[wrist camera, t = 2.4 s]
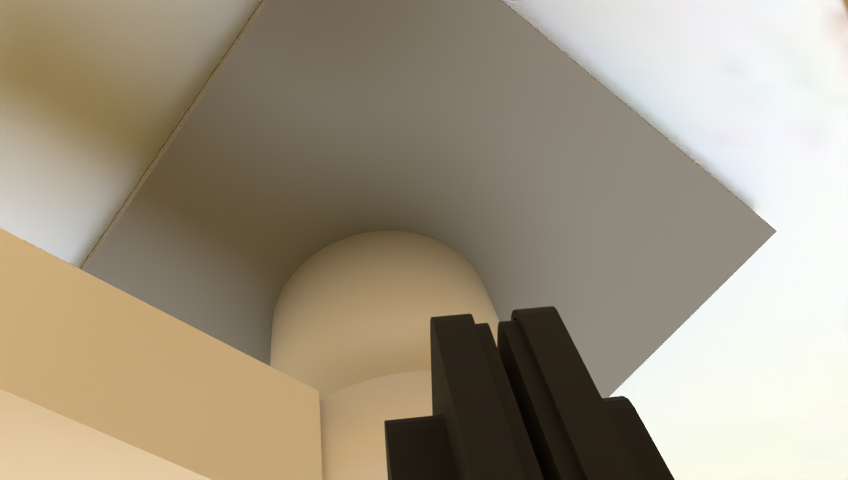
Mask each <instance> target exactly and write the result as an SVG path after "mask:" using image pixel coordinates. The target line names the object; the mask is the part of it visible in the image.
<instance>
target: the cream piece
mask: <svg viewBox="0 0 848 480" xmlns="http://www.w3.org/2000/svg"><path fill="white" fill-rule="evenodd" d="M424 416H432V380H431V370H427V371H413V372H405V373H397V374H391V375H387V376H382V377H378V378H374V379H370V380H366V381H363V382H360V383H357V384H354V385H352V386H349V387H346V388H343V389H341V390H338V391H336V392H334V393H332V394H330V395H328V396H326V397H324V398H322V399H319V391H317V390H315V389H314V388H312V387H310V386H308V385H306V384H304V383H302V382H300V381H298V380H296V379H294V378H292V377H290V376H288V375H286V374H284V373H282V372H280V371H278V370H276V369H274V368H272V367H270V366H269V365H267V364H265V363H263V362H261V361H259V360H257V359H255V358H253V357H251V356H249V355H247V354H245V353H243V352H241V351H239V350H237V349H235V348H233V347H231V346H229V345H227V344H225V343H224V342H222V341H220V340H218V339H216V338H214V337H212V336H210V335H208V334H206V333H204V332H202V331H200V330H198V329H196V328H194V327H192V326H190V325H188V324H186V323H184V322H182V321H181V320H179V319H177V318H175V317H173V316H171V315H169V314H167V313H165V312H163V311H161V310H159V309H157V308H155V307H153V306H151V305H149V304H147V303H145V302H143V301H141V300H139V299H137V298H136V297H134V296H132V295H130V294H128V293H126V292H124V291H122V290H120V289H118V288H116V287H114V286H112V285H110V284H108V283H106V282H104V281H102V280H100V279H98V278H96V277H94V276H92V275H91V274H89V273H87V272H85V271H83V270H81V269H79V268H77V267H75V266H73V265H71V264H69V263H67V262H65V261H63V260H61V259H59V258H57V257H55V256H53V255H51V254H49V253H47V252H46V251H44V250H42V249H40V248H38V247H36V246H34V245H32V244H30V243H28V242H26V241H24V240H22V239H20V238H18V237H16V236H14V235H12V234H10V233H8V232H6V231H4V230H2V229H1V228H0V480H388V475H387V460H386V445H385V428H384V421H385V420H394V419H404V418H414V417H424Z"/></svg>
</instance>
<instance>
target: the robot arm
mask: <svg viewBox="0 0 848 480" xmlns="http://www.w3.org/2000/svg"><path fill="white" fill-rule="evenodd" d="M430 345H431V380H432V416H424V417H414V418H404V419H394V420H385V421H384V428H385V445H386V460H387V475H388V480H674V478H673V476H672V474H671V473H670V471H669V469H668V467H667V465H666V464H665V462H664V460H663V458H662V456H661V455H660V453H659V451H658V449H657V447H656V446H655V444H654V442H653V440H652V438H651V437H650V435H649V433H648V431H647V429H646V428H645V426H644V424H643V422H642V420H641V419H640V417H639V415H638V413H637V411H636V410H635V408H634V406H633V405H632V404H631V402H630V401H629V399H627V398H625V397H624V396H619V397H610V398H602V397H601V395H600V394H599V392H598V390H597V388H596V386H595V384H594V382H593V380H592V378H591V376H590V374H589V372H588V370H587V368H586V366H585V364H584V362H583V360H582V358H581V356H580V354H579V352H578V350H577V348H576V346H575V344H574V342H573V340H572V338H571V336H570V334H569V332H568V331H567V329H566V327H565V325H564V323H563V321H562V319H561V317H560V315H559V313H558V311H557V309H556V308H555V307H553V306H548V307H536V308H525V309H514V310H513V311H512V315H511V321H500V322H499V323H498V331H497V346H496V343H495V340H494V337H493V334H492V332H491V329H490V326H489V324H488V323H478V324H475V321H474V318H473V316H472V314H459V315H448V316H437V317H431V319H430Z"/></svg>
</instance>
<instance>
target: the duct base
mask: <svg viewBox="0 0 848 480" xmlns="http://www.w3.org/2000/svg"><path fill="white" fill-rule="evenodd" d="M775 232H776V230H775V229H774V228H772V227H771V226H770V225H769V224H768V223H766V222H765V221H764V220H763V219H762V218H761V217H759V216H758V215H757V214H756V213H755V212H754V211H752V210H751V209H750V208H749V207H748V206H746V205H745V204H744V203H743V202H742V201H740V200H739V199H738V198H737V197H736V196H734V195H733V194H732V193H731V192H730V191H728V190H727V189H726V188H725V187H724V186H723V185H721V184H720V183H719V182H718V181H717V180H715V179H714V178H713V177H712V176H711V175H709V174H708V173H707V172H706V171H705V170H703V169H702V168H701V167H700V166H699V165H697V164H696V163H695V162H694V161H693V160H691V159H690V158H689V157H688V156H687V155H686V154H684V153H683V152H682V151H681V150H680V149H678V148H677V147H676V146H675V145H674V144H672V143H671V142H670V141H669V140H668V139H666V138H665V137H664V136H663V135H662V134H660V133H659V132H658V131H657V130H656V129H655V128H653V127H652V126H651V125H650V124H649V123H647V122H646V121H645V120H644V119H643V118H641V117H640V116H639V115H638V114H637V113H635V112H634V111H633V110H632V109H631V108H629V107H628V106H627V105H626V104H625V103H623V102H622V101H621V100H620V99H619V98H618V97H616V96H615V95H614V94H613V93H612V92H610V91H609V90H608V89H607V88H606V87H604V86H603V85H602V84H601V83H600V82H598V81H597V80H596V79H595V78H594V77H592V76H591V75H590V74H589V73H588V72H587V71H585V70H584V69H583V68H582V67H581V66H579V65H578V64H577V63H576V62H575V61H573V60H572V59H571V58H570V57H569V56H567V55H566V54H565V53H564V52H563V51H561V50H560V49H559V48H558V47H557V46H555V45H554V44H553V43H552V42H551V41H550V40H548V39H547V38H546V37H545V36H544V35H542V34H541V33H540V32H539V31H538V30H536V29H535V28H534V27H533V26H532V25H530V24H529V23H528V22H527V21H526V20H524V19H523V18H522V17H521V16H520V15H518V14H517V13H516V12H515V11H514V10H513V9H511V8H510V7H509V6H508V5H507V4H505V3H504V2H503V1H502V0H262V2H261V3H260V5H259V6H258V7H257V9H256V10H255V12H254V13H253V15H252V16H251V18H250V19H249V21H248V22H247V24H246V25H245V27H244V28H243V30H242V31H241V33H240V34H239V35H238V37H237V38H236V40H235V41H234V43H233V44H232V46H231V47H230V49H229V50H228V52H227V53H226V55H225V56H224V58H223V59H222V60H221V62H220V63H219V65H218V66H217V68H216V69H215V71H214V72H213V74H212V75H211V77H210V78H209V80H208V81H207V83H206V84H205V86H204V87H203V88H202V90H201V91H200V93H199V94H198V96H197V97H196V99H195V100H194V102H193V103H192V105H191V106H190V108H189V109H188V111H187V112H186V114H185V115H184V116H183V118H182V119H181V121H180V122H179V124H178V125H177V127H176V128H175V130H174V131H173V133H172V134H171V136H170V137H169V139H168V140H167V142H166V143H165V144H164V146H163V147H162V149H161V150H160V152H159V153H158V155H157V156H156V158H155V159H154V161H153V162H152V164H151V165H150V167H149V168H148V169H147V171H146V172H145V174H144V175H143V177H142V178H141V180H140V181H139V183H138V184H137V186H136V187H135V189H134V190H133V192H132V193H131V195H130V196H129V197H128V199H127V200H126V202H125V203H124V205H123V206H122V208H121V209H120V211H119V212H118V214H117V215H116V217H115V218H114V220H113V221H112V223H111V224H110V225H109V227H108V228H107V230H106V231H105V233H104V234H103V236H102V237H101V239H100V240H99V242H98V243H97V245H96V246H95V248H94V249H93V251H92V252H91V253H90V255H89V256H88V258H87V259H86V261H85V262H84V264H83V265H82V267H81V268H80V269H81V270H83V271H85V272H87V273H89V274H91V275H92V276H94V277H96V278H98V279H100V280H102V281H104V282H106V283H108V284H110V285H112V286H114V287H116V288H118V289H120V290H122V291H124V292H126V293H128V294H130V295H132V296H134V297H136V298H137V299H139V300H141V301H143V302H145V303H147V304H149V305H151V306H153V307H155V308H157V309H159V310H161V311H163V312H165V313H167V314H169V315H171V316H173V317H175V318H177V319H179V320H181V321H182V322H184V323H186V324H188V325H190V326H192V327H194V328H196V329H198V330H200V331H202V332H204V333H206V334H208V335H210V336H212V337H214V338H216V339H218V340H220V341H222V342H224V343H225V344H227V345H229V346H231V347H233V348H235V349H237V350H239V351H241V352H243V353H245V354H247V355H249V356H251V357H253V358H255V359H257V360H259V361H261V362H263V363H265V364H267V365H269V366H270V367H272V368H274V369H276V370H278V371H280V372H282V373H284V374H286V375H288V376H290V377H292V378H294V379H296V380H298V381H300V382H302V383H304V384H306V385H308V386H310V387H312V388H314V389H315V390H317V391H319V399H322V398H324V397H326V396H328V395H330V394H332V393H334V392H336V391H338V390H341V389H343V388H346V387H349V386H352V385H354V384H357V383H360V382H363V381H366V380H370V379H374V378H378V377H382V376H387V375H391V374H397V373H405V372H413V371H427V370H431V345H430V319H431V317H437V316H448V315H459V314H472V316H473V318H474V321H475V324H478V323H488V324H489V326H490V329H491V332H492V334H493V337H494V340H495V343H496V346H497V331H498V323H499V322H500V321H511V315H512V311H513V310H514V309H525V308H536V307H548V306H553V307H555V308H556V309H557V311H558V313H559V315H560V317H561V319H562V321H563V323H564V325H565V327H566V329H567V331H568V332H569V334H570V336H571V338H572V340H573V342H574V344H575V346H576V348H577V350H578V352H579V354H580V356H581V358H582V360H583V362H584V364H585V366H586V368H587V370H588V372H589V374H590V376H591V378H592V380H593V382H594V384H595V386H596V388H597V390H598V392H599V394H600V395H601V397H602V398H608V397H609V396H610V395H611V394H612V393H613V392H614V391H615V390H616V389H617V388H618V387H619V386H620V385H621V384H622V383H623V382H624V381H625V380H626V379H627V378H628V377H629V376H630V375H631V374H632V373H633V372H634V371H635V370H636V369H638V368H639V367H640V366H641V365H642V364H643V363H644V362H645V361H646V360H647V359H648V358H649V357H650V356H651V355H652V354H653V353H654V352H655V351H656V350H657V349H658V348H659V347H660V346H661V345H662V344H663V343H664V342H665V341H666V340H667V339H668V338H669V337H670V336H671V335H672V334H673V333H674V332H675V331H676V330H677V329H678V328H679V327H680V326H681V325H682V324H683V323H684V322H685V321H686V320H687V319H688V318H689V317H690V316H691V315H692V314H693V313H694V312H695V311H696V310H697V309H698V308H699V307H700V306H701V305H702V304H703V303H704V302H705V301H706V300H707V299H708V298H709V297H710V296H711V295H712V294H713V293H714V292H715V291H716V290H717V289H719V288H720V287H721V286H722V285H723V284H724V283H725V282H726V281H727V280H728V279H729V278H730V277H731V276H732V275H733V274H734V273H735V272H736V271H737V270H738V269H739V268H740V267H741V266H742V265H743V264H744V263H745V262H746V261H747V260H748V259H749V258H750V257H751V256H752V255H753V254H754V253H755V252H756V251H757V250H758V249H759V248H760V247H761V246H762V245H763V244H764V243H765V242H766V241H767V240H768V239H769V238H770V237H771V236H772V235H773V234H774V233H775Z"/></svg>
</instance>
